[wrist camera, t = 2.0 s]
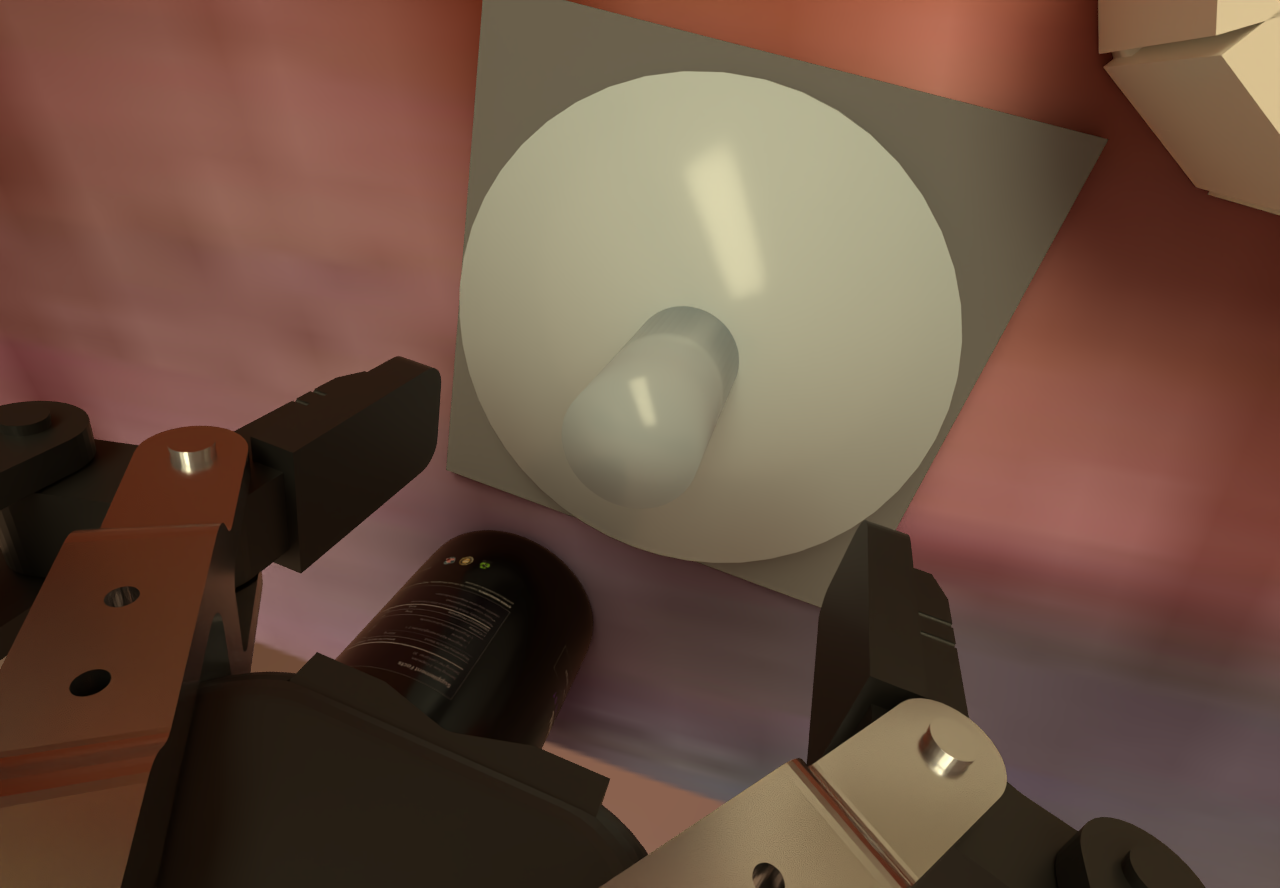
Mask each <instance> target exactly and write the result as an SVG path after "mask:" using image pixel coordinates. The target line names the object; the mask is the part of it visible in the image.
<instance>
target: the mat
mask: <svg viewBox="0 0 1280 888" xmlns="http://www.w3.org/2000/svg"><path fill="white" fill-rule="evenodd" d="M681 71H694V72H725V73H732V74H738V75H743V76H749V77H755V78H760V79H766V80H770V81H773V82H776V83H779V84H781V85H784V86H787V87H790V88H793V89H796V90H799V91H802V92H805V93H807V94H809V95H810V96H812V97H814V98H816V99H818V100H820V101H822V102H824V103H826V104H828V105H830V106H832V107H834V108H835V109H837V110H839V111H840V112H842V113H843V114H845V115H846V116H847V117H849V118H850V119H851V120H853V121H854V122H855V123H857V124H858V125H860V126H861V127H862V128H864V129H865V130H866V131H868V132H869V133H870V134H871V135H872V136H873V137H874V138H875V139H876V140H877V141H878V142H879V143H880V144H881V145H882V146H883V147H884V148H885V149H886V150H887V151H888V152H889V153H890V154H891V155H892V156H893V157H894V158H895V159H896V160H897V161H898V162H899V164H900V165H901V166H902V168H903V169H904V170H905V172H906V173H907V174H908V176H909V177H910V178H911V180H912V181H913V183H914V184H915V185H916V187H917V188H918V189H919V191H920V192H921V194H922V195H923V197H924V199H925V201H926V203H927V205H928V207H929V208H930V210H931V212H932V214H933V216H934V218H935V220H936V222H937V224H938V226H939V227H940V229H941V231H942V234H943V237H944V240H945V243H946V245H947V248H948V251H949V254H950V257H951V260H952V263H953V266H954V269H955V275H956V280H957V286H958V291H959V297H960V302H961V320H962V347H961V355H960V363H959V371H958V378H957V381H956V385H955V389H954V392H953V396H952V399H951V403H950V407H949V410H948V412H947V415H946V417H945V419H944V421H943V424H942V426H941V428H940V430H939V433H938V435H937V437H936V439H935V441H934V443H933V444H932V446H931V447H930V449H929V451H928V452H927V454H926V455H925V457H924V459H923V460H922V462H921V463H920V465H919V467H918V468H917V469H916V470H915V471H914V473H913V474H912V475H911V476H910V477H909V479H908V480H907V481H906V482H905V483H904V485H903V486H902V487H901V488H900V489H899V490H898V492H896V493H895V494H894V495H893V496H892V497H891V498H890V499H889V500H888V501H886V502H885V503H884V504H883V505H882V506H881V507H880V508H879V509H878V510H877V511H875V512H874V513H873V514H871V515H870V516H868V517H867V518H865V519H864V520H867V521H870V522H873V523H876V524H879V525H882V526H885V527H888V528H890V529H893V530H896V528H897V526H898V524H899V522H900V521H901V519H902V517H903V515H904V513H905V511H906V510H907V508H908V506H909V504H910V502H911V500H912V499H913V497H914V495H915V493H916V491H917V489H918V488H919V486H920V484H921V482H922V480H923V478H924V477H925V475H926V473H927V471H928V469H929V467H930V466H931V464H932V462H933V460H934V458H935V456H936V455H937V453H938V451H939V449H940V447H941V445H942V444H943V442H944V440H945V438H946V436H947V434H948V433H949V431H950V429H951V427H952V425H953V423H954V422H955V420H956V418H957V416H958V414H959V412H960V411H961V409H962V407H963V405H964V403H965V401H966V400H967V398H968V396H969V394H970V392H971V390H972V389H973V387H974V385H975V383H976V381H977V379H978V378H979V376H980V374H981V372H982V370H983V368H984V367H985V365H986V363H987V361H988V359H989V357H990V356H991V354H992V352H993V350H994V348H995V346H996V345H997V343H998V341H999V339H1000V337H1001V335H1002V334H1003V332H1004V330H1005V328H1006V326H1007V324H1008V323H1009V321H1010V319H1011V317H1012V315H1013V313H1014V312H1015V310H1016V308H1017V306H1018V304H1019V302H1020V301H1021V299H1022V297H1023V295H1024V293H1025V291H1026V290H1027V288H1028V286H1029V284H1030V282H1031V280H1032V279H1033V277H1034V275H1035V273H1036V271H1037V269H1038V268H1039V266H1040V264H1041V262H1042V260H1043V258H1044V257H1045V255H1046V253H1047V251H1048V249H1049V247H1050V246H1051V244H1052V242H1053V240H1054V238H1055V236H1056V235H1057V233H1058V231H1059V229H1060V227H1061V225H1062V224H1063V222H1064V220H1065V218H1066V216H1067V214H1068V213H1069V211H1070V209H1071V207H1072V205H1073V203H1074V201H1075V200H1076V198H1077V196H1078V194H1079V192H1080V190H1081V189H1082V187H1083V185H1084V183H1085V181H1086V179H1087V178H1088V176H1089V174H1090V172H1091V170H1092V168H1093V167H1094V165H1095V163H1096V161H1097V159H1098V157H1099V156H1100V154H1101V152H1102V150H1103V148H1104V146H1105V145H1106V143H1107V141H1108V139H1105V138H1101V137H1097V136H1093V135H1089V134H1085V133H1082V132H1078V131H1074V130H1070V129H1066V128H1062V127H1058V126H1054V125H1050V124H1046V123H1042V122H1039V121H1035V120H1031V119H1027V118H1023V117H1019V116H1015V115H1011V114H1007V113H1003V112H999V111H995V110H992V109H988V108H984V107H980V106H976V105H972V104H968V103H964V102H960V101H956V100H952V99H949V98H945V97H941V96H937V95H933V94H929V93H925V92H921V91H917V90H913V89H909V88H906V87H902V86H898V85H894V84H890V83H886V82H882V81H878V80H874V79H870V78H866V77H862V76H859V75H855V74H851V73H847V72H843V71H839V70H835V69H831V68H827V67H823V66H819V65H816V64H812V63H808V62H804V61H800V60H796V59H792V58H788V57H784V56H780V55H776V54H773V53H769V52H765V51H761V50H757V49H753V48H749V47H745V46H741V45H737V44H733V43H729V42H726V41H722V40H718V39H714V38H710V37H706V36H702V35H698V34H694V33H690V32H686V31H683V30H679V29H675V28H671V27H667V26H663V25H659V24H655V23H651V22H647V21H643V20H639V19H636V18H632V17H628V16H624V15H620V14H616V13H612V12H608V11H604V10H600V9H596V8H593V7H589V6H585V5H581V4H577V3H573V2H569V1H565V0H483V4H482V17H481V30H480V43H479V55H478V68H477V81H476V94H475V107H474V120H473V132H472V145H471V158H470V171H469V184H468V197H467V209H466V222H465V235H464V248H463V259H464V254H465V251H466V247H467V243H468V240H469V236H470V232H471V229H472V226H473V223H474V221H475V219H476V216H477V214H478V212H479V209H480V207H481V205H482V202H483V200H484V198H485V196H486V194H487V193H488V191H489V189H490V188H491V186H492V184H493V183H494V181H495V179H496V178H497V176H498V174H499V173H500V171H501V170H502V168H503V167H504V166H505V165H506V163H507V162H508V161H509V160H510V159H511V157H512V156H513V155H514V154H515V152H516V151H517V150H518V149H519V148H520V146H521V145H522V144H523V143H524V142H525V141H526V140H528V139H529V138H530V137H531V136H532V135H533V134H534V133H535V132H536V131H537V130H539V129H540V128H541V127H542V126H543V125H544V124H545V123H546V122H547V121H549V120H550V119H552V118H553V117H555V116H556V115H558V114H559V113H561V112H562V111H564V110H565V109H567V108H568V107H570V106H571V105H573V104H574V103H576V102H578V101H580V100H582V99H584V98H586V97H588V96H591V95H593V94H595V93H597V92H599V91H601V90H603V89H606V88H608V87H610V86H614V85H617V84H620V83H624V82H627V81H631V80H634V79H638V78H641V77H644V76H651V75H659V74H666V73H674V72H681ZM462 267H463V261H462ZM461 274H462V273H461ZM459 314H460V299H459V312H458V325H457V338H456V350H455V363H454V376H453V389H452V402H451V415H450V427H449V440H448V453H447V466H446V470H448V471H451V472H453V473H456V474H459V475H462V476H464V477H467V478H470V479H472V480H475V481H478V482H481V483H483V484H486V485H489V486H491V487H494V488H497V489H500V490H502V491H505V492H508V493H510V494H513V495H516V496H519V497H521V498H524V499H527V500H529V501H532V502H535V503H538V504H540V505H543V506H546V507H549V508H551V509H554V510H557V511H559V512H562V513H565V514H568V515H570V516H573V517H575V516H574V515H572V514H571V513H569V512H568V511H567V510H565V509H564V508H562V507H561V506H560V505H559V504H558V503H556V502H555V501H554V500H553V499H552V498H550V497H549V496H548V495H547V494H546V493H545V492H543V491H542V490H541V489H540V488H539V487H538V486H537V485H536V484H535V483H534V482H533V480H532V479H531V478H530V477H529V476H528V475H527V474H526V473H525V472H524V471H523V470H522V469H521V468H520V466H519V465H518V464H517V462H516V461H515V460H514V459H513V457H512V456H511V455H510V453H509V452H508V451H507V450H506V448H505V447H504V445H503V443H502V442H501V440H500V439H499V437H498V435H497V434H496V432H495V431H494V429H493V427H492V426H491V424H490V422H489V420H488V418H487V416H486V414H485V412H484V410H483V407H482V405H481V403H480V401H479V399H478V396H477V393H476V391H475V388H474V385H473V382H472V379H471V377H470V374H469V370H468V366H467V361H466V357H465V353H464V348H463V343H462V334H461V325H460V316H459ZM576 518H577V517H576ZM864 520H862V521H864ZM862 521H861V522H862ZM861 522H860V523H858V524H857V525H855V526H854V527H852V528H851V529H849V530H847V531H845V532H843V533H841V534H839V535H837V536H836V537H834V538H832V539H830V540H828V541H826V542H824V543H821V544H818V545H816V546H813V547H810V548H808V549H805V550H802V551H800V552H797V553H792V554H788V555H784V556H780V557H776V558H772V559H766V560H758V561H750V562H742V563H710V562H699V561H695V562H698V563H701V564H703V565H706V566H709V567H712V568H714V569H717V570H720V571H722V572H725V573H728V574H731V575H733V576H736V577H739V578H741V579H744V580H747V581H750V582H752V583H755V584H758V585H761V586H763V587H766V588H769V589H771V590H774V591H777V592H780V593H782V594H785V595H788V596H790V597H793V598H796V599H799V600H801V601H804V602H807V603H809V604H812V605H815V606H818V607H820V608H821V607H822V603H823V600H824V597H825V594H826V592H827V589H828V587H829V585H830V583H831V581H832V579H833V577H834V575H835V573H836V570H837V568H838V566H839V564H840V562H841V560H842V558H843V556H844V554H845V552H846V550H847V548H848V546H849V544H850V542H851V540H852V538H853V536H854V534H855V532H856V530H857V528H858V527H859V525H860V524H861Z"/></svg>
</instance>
